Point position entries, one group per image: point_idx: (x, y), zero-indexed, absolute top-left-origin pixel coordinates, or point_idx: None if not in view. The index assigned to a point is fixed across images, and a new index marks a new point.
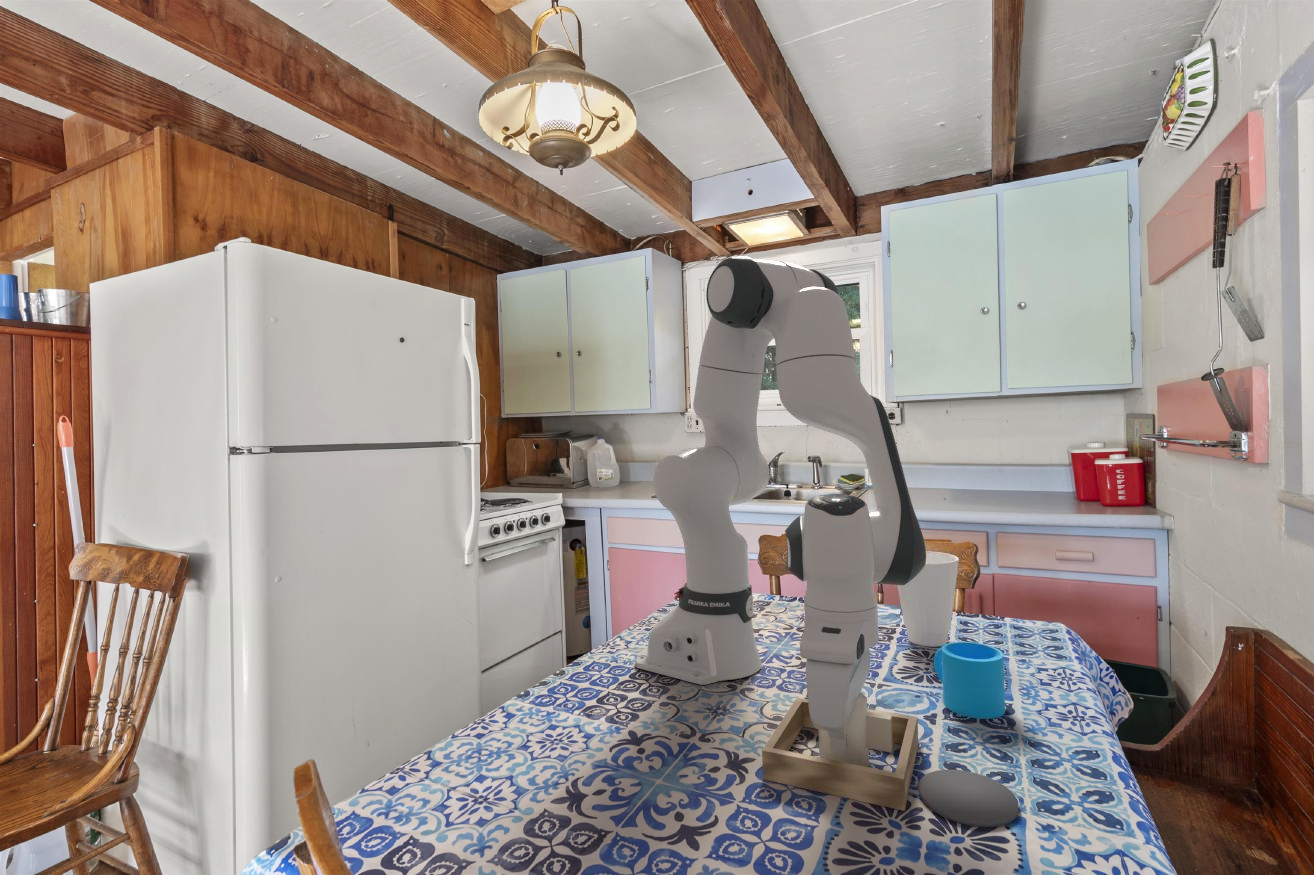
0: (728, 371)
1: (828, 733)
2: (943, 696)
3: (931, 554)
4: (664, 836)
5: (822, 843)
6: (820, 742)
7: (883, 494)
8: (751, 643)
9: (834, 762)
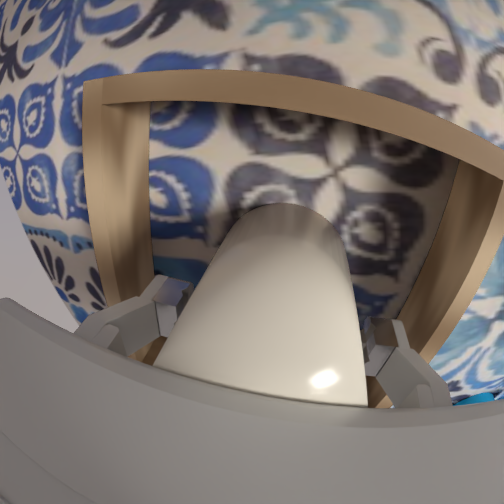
0: None
1: (120, 303)
2: (483, 401)
3: None
4: (3, 42)
5: (42, 227)
6: (241, 234)
7: None
8: None
9: (110, 278)
